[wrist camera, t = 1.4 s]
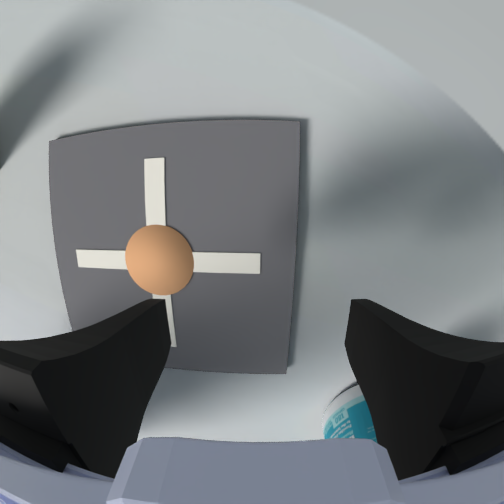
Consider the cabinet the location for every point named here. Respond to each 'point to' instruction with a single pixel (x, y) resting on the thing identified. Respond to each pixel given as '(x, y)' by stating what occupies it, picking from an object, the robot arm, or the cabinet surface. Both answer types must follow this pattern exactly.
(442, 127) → the cabinet surface
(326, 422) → the pill bottle
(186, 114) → the cabinet surface
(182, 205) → the rest pad
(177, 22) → the cabinet surface
